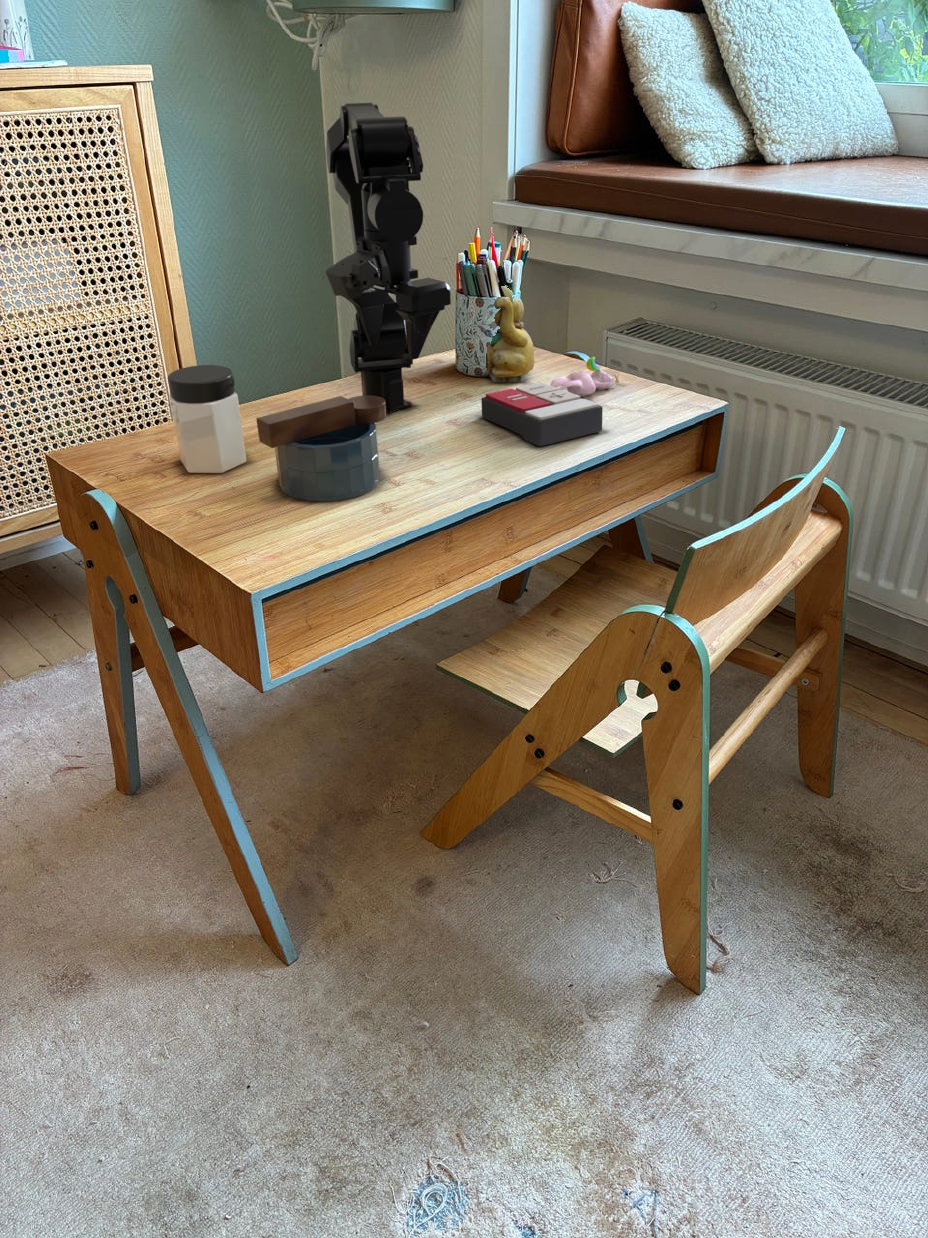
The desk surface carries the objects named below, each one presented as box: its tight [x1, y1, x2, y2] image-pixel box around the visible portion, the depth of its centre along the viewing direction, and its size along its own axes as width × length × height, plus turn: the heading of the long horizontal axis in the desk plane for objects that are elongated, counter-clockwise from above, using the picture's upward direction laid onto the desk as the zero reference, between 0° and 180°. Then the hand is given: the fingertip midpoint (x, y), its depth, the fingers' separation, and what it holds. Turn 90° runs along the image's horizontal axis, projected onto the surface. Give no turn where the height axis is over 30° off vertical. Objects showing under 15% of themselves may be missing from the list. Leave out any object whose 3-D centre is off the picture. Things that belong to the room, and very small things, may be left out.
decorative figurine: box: [485, 285, 535, 383], centre depth 157 cm, size 10×8×15 cm
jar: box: [167, 364, 247, 474], centre depth 128 cm, size 9×8×12 cm
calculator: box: [480, 382, 604, 447], centre depth 140 cm, size 11×4×15 cm
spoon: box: [255, 395, 387, 449], centre depth 120 cm, size 17×5×3 cm, turn 130°
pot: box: [274, 423, 380, 503], centre depth 123 cm, size 13×13×7 cm
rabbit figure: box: [549, 356, 620, 398], centre depth 151 cm, size 6×6×15 cm
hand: (393, 351), depth 132 cm, fingers open, 9 cm apart
